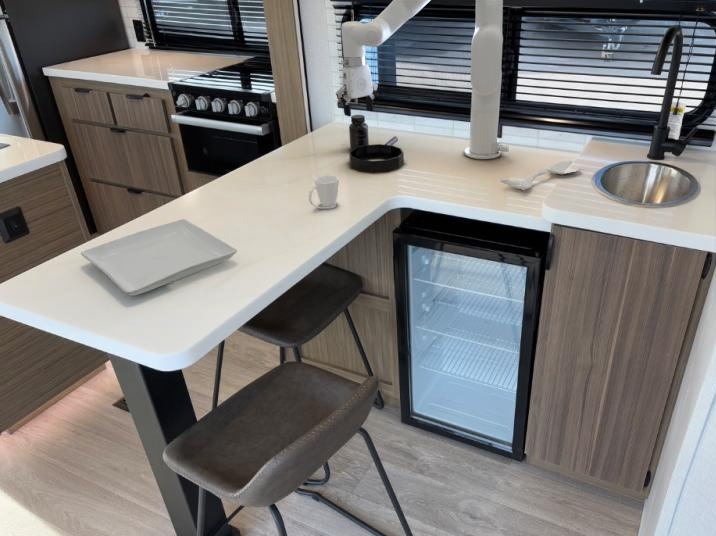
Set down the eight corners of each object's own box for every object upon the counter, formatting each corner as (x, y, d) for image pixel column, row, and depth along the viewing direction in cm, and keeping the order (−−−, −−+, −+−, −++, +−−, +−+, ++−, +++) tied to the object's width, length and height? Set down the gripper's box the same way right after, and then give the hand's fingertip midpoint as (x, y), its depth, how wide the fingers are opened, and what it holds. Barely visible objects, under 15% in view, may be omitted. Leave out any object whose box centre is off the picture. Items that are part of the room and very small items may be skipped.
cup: (345, 205, 175) (343, 179, 170) (318, 215, 169) (315, 188, 164) (330, 199, 179) (328, 173, 175) (303, 209, 173) (300, 182, 169)
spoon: (498, 189, 184) (499, 178, 182) (563, 165, 201) (564, 155, 199) (521, 197, 178) (522, 186, 176) (586, 172, 195) (587, 162, 193)
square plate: (82, 265, 146) (78, 250, 144) (187, 230, 162) (184, 216, 160) (130, 306, 129) (125, 290, 127) (241, 262, 145) (238, 248, 143)
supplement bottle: (348, 147, 222) (346, 114, 215) (366, 145, 223) (364, 112, 217) (352, 153, 216) (350, 119, 210) (371, 151, 218) (369, 117, 212)
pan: (418, 150, 218) (418, 138, 216) (391, 175, 196) (391, 162, 194) (373, 145, 223) (372, 134, 221) (341, 169, 201) (340, 157, 199)
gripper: (340, 66, 197) (345, 119, 206) (381, 59, 206) (384, 110, 215) (327, 64, 202) (332, 115, 211) (368, 56, 211) (371, 106, 220)
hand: (358, 112), depth 213 cm, fingers open, 9 cm apart
